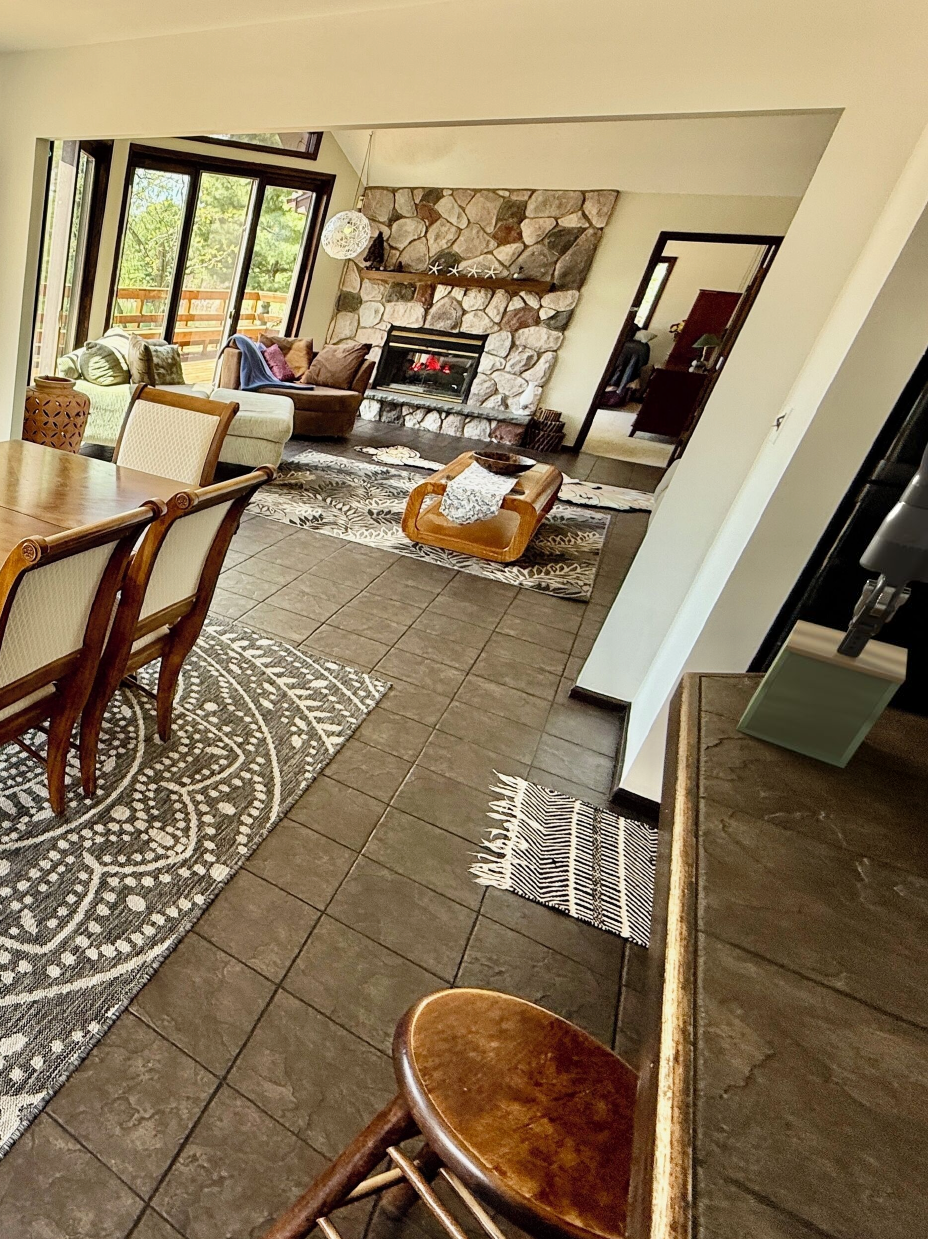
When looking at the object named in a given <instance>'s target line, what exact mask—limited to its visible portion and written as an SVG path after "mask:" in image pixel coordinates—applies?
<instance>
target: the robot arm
mask: <svg viewBox="0 0 928 1239" xmlns="http://www.w3.org/2000/svg"><path fill="white" fill-rule="evenodd" d="M859 565H861V567H863V568H865V569H867V570H869V571H872V572H875V573H880V576H879V577H878V579H877V580H873V579H870V578H869V579H868V580H867V582H866V583H865V585H864V586H863V589H862V593H861V597H860V598H859V600H858V601H857V603H856V605H855V606H854V610H853V615H852V620H850V622H849V624H848V627H849V628H848V630H847V632H846V635H845V636H844V638H843V640H842V641H841V643H840V644H839V646H838V648H837V652H838V653H839V654H842V655H846V656H849V657H853V658H856V657H859V655H860V654H861V652H862V651H863V649H864V648H865V646H866V644H867V643H868V641H869V640H870V639H871V638H872V637H873V636H875V635H877V634H878V633H880V631H881V629H882V627H883V626H884V624H885V623H889V622H890V621H891V620H892V618H893V616H894V615H895V614H896V611H897V610H898V609H899V607H900V606H902V605H904V604H905V603H906V601H907V600H908V599H909V597H910V595H911V590H912V589H911V588H909V587H906V586H907V584H908V583H909V582H913V581H916V582H920V583H928V442H927V444H926V446H925V449H924V452H923V455H922V459H921V462H920V466H919V468H918V470H917V471H916V473H915V474H914V476H913V477H912V478H911V480H910V482H909V483H908V485H907V486H906V488H905V490H904V491H903V493H902V495H901V496H900V498H899V501H898V500H897V503H896V504H895V505H894V506H893V508H892V509H891V510H890V512H888V514H887V515H886V516H885V517H884V519H883V521H882V523H881V525H880V526H879V528H878V530H877V531H876V533H875V534H874V536H873V538H872V540H871V541H870V543H869V545H868V546H867V548H866V549H865V551H864V553H863V554H862V556H861V558H860V560H859Z"/></svg>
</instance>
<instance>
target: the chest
mask: <svg viewBox="0 0 928 1239" xmlns="http://www.w3.org/2000/svg"><path fill="white" fill-rule="evenodd" d="M794 627H795V625H794V626H793V628H792V630H791V632H790V633H789V635H788V637H787V638H786V640H785V642H784V643H783V644H782V646H781V648H780V650H779V652H778V653H777V655H776V657H775V658H774V660H773V661H772V663H771V666H770V667H769V668H768V670H767V672H766V674H765V676H764V677H763V679H762V680H761V682H760V684H759V685H758V688H757V689H756V691H755V692H754V694H753V695H752V697H751V698H750V701H749V703H748V705H747V707H746V709H745V711H744V712H743V715H742V716H741V718H740V721H739V723H738V724H737V726H736V729H735V730H736V731H738V732H741V733H744V734H747V735H750V736H753V737H755V738H757V739H761V740H763V741H766V742H768V743H772V744H774V745H776V746H777V745H778V746H780V747H782V748H786V749H788V750H791V751H794V752H797V753H800V754H802V755H805V756H807V757H810V758H813V759H816V760H819V761H822V762H825V763H827V764H829V765H833V766H835V767H838V768H842V769H845V767H846V766H847V764H848V763H849V762H850V760H851V759H852V757H853V756H854V754H855V753H856V751H857V750H858V748H859V747H860V745H861V744H862V742H863V741H864V739H865V738H866V736H867V735H868V734H869V732H870V730H871V729H872V728H873V726H874V725H875V723H876V722H877V720H878V719H879V717H880V716H881V714H882V713H883V711H884V710H885V709H886V707H887V706H888V704H889V703H890V701H891V700H892V698H893V697H894V695H895V694H896V692H897V691H898V689H899V688H900V686H901V685H902V684H900V683H896V682H893V681H889V680H886V679H882V678H879V677H876V676H872V675H869V674H865V673H862V672H859V671H855V670H852V669H848V668H845V667H842V666H838V665H835V664H831V663H828V662H824V661H821V660H818V659H814V658H811V657H807V656H804V655H801V654H797V653H794V652H790V651H787V650H784V648H785V646H786V644H787V641H788V639H789V637H790V635H791V633H792V631H793V629H794Z"/></svg>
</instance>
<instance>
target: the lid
mask: <svg viewBox="0 0 928 1239" xmlns="http://www.w3.org/2000/svg"><path fill="white" fill-rule="evenodd" d="M794 626H795V627H794ZM794 626H793V628H794V629H793V628H792V630H793V631H792V630H791V631H792V633H791V632H790V633H791V635H790V634H789V635H790V637H789V636H788V637H789V639H788V641H787V644H786V646H785V648H784V650H787V651H790V652H794V653H797V654H801V655H804V656H807V657H811V658H814V659H818V660H821V661H824V662H828V663H831V664H835V665H838V666H842V667H845V668H848V669H852V670H855V671H859V672H862V673H865V674H869V675H872V676H876V677H879V678H882V679H886V680H889V681H893V682H896V683H900V684H901V685H903V683H905V680H906V675H907V664H908V663H907V662H908V648H904V647H900V646H897V645H894V644H890V643H886V642H882V641H879V640H875V639H871V638H870V640H869V641H868V643H867V644H866V646H865V648H864V649H863V651H862V652H861V654H860V655H859V657H856V658H853V657H849V656H846V655H842V654H839V653H838V652H837V648H838V646H839V644H840V643H841V641H842V640H843V638H844V636H845V635H846V633H847V632H845V631H843V630H842V631H841V630H838V629H834V628H831V627H826V626H824V625H820V624H815V623H813V622H808V621H805V620H801V619H798V620H797V621H796V623H795V624H794Z"/></svg>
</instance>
